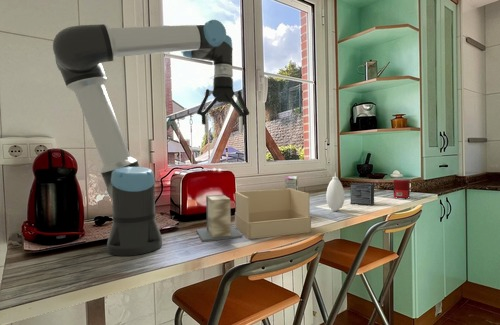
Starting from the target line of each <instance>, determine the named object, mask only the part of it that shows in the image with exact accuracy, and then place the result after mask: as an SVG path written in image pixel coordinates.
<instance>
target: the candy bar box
mask: <svg viewBox="0 0 500 325" xmlns="http://www.w3.org/2000/svg"><path fill="white" fill-rule="evenodd" d="M285 189H294V190H298V191H299V176H298V175H289V176H286V178H285Z"/></svg>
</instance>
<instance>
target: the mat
mask: <svg viewBox="0 0 500 325" xmlns="http://www.w3.org/2000/svg"><path fill="white" fill-rule="evenodd" d="M196 233H197V235H198V236H199V238H200V240H201V242H202V243H203V242H204V243H205V242H211V241H219V240H220V241H222V240H231V239H238V238H239V239H240V238H243V234H242V233H241V232H240V231H239V230H238V229H237V228H236V227H234V226H233V225H231V236H223V237H213V238H212V236H211V235H210V233H209V232H208V231H207V227H205V228H196Z"/></svg>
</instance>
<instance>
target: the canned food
mask: <svg viewBox="0 0 500 325" xmlns="http://www.w3.org/2000/svg"><path fill="white" fill-rule="evenodd" d="M410 184H411V182H410V178H409V177H394V178H393V198H394V197H397V198H408V197H409V198H410V193H411V191H410ZM397 198H396V199H397Z"/></svg>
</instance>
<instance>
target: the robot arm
mask: <svg viewBox="0 0 500 325" xmlns="http://www.w3.org/2000/svg"><path fill="white" fill-rule="evenodd" d="M232 40H233V39H232V37H231V36H230V35H228V34H227V31H226V26H224V23H222V22H221V21H219V20H217V19H210V20H208V21H206V22H205V23H204V24H203V23H201V24H190V25H189V24H185V25H183V24H181V25H163V26H162V25H160V26H159V25H158V26H157V25H156V26H134V27H133V26H132V27H129V26H128V27H110V26H108V25H107V24H104V23H103V24H102V23H101V24H80V25H73V26H68V27H65V28H63V29H62V30H59V32H58V33H57V34H56V35H55V37H54V39H53V42H52V51H53V54H54V57H55V58H54V59H55V64H56V66H57V69H58V71H60V74H61V77H62V78H63V81H64V83H65V85H66V88H67V89H69V90H70V91H72V92H74V94H75V97H76V99H77V100H78V101H77V102H78V105H79V107H80V109H81V112H82V115H83V116H84V120H85V122H86V124H87V127H88V129H89V132H90V134H91V137H92V140H93V142H94V144H95V147H96V149H97V151H98V155H99V158H100V160H101V162H102V165H103V166H102V168H101V170H100V174H101V176H102V178H103V181H104V183H105V186H106V191H107V194H108V196H109V197H110V198H111V202H112V204H111V205H112V206H111V207H112V226H111V228H110V232H109V235H108V238H107V242H106V251H107V253H108V254H110V255H113V256H119V257H130V256H138V255H145V254H148V253H151V252H154V251H156V250H159V249H160V248H161V247H162V245H163V237H162V234H161V231H160V229H159V226H158V224H157V223H158V222H157V219H156V198H155V197H156V193H155V192H156V190H155V183H156V182H155V181H156V179H155V173H154V172H153V170H152V169H151V168H149V167H142V166H140V164H139V162H138V160H137V159H136V158H135V157H132V156H131V154H130V152H129V149H128V146H127V143H126V141H125V138H124V136H123V135H124V134H123V132H122V129H121V126H120V125H119V121H118V120H117V116H116V114H115V112H114V107H113V106H112V102H111V100H110V98H109V95H108V92H107V90H106V86H105V84H106V82H107V80H108V78H107V76H106V75H107V74H106V73H105V71H104V67H103V65H102V64H104V63H107V62H114V61H115V60H116V58H118V57H119V58H121V57H132V56H143V55H154V54H164V53H165V54H166V53H175V52H176V53H177V52H180V53H181V55H182V57H184V58H187V59H192V60H193V59H194V60H201V61H202V60H203V61H208V62H212V77H213V79H212V81H213V82H212V86H213V87H212V89H213V90H210V89H209V88H207V89H205V91H204V97H203V99H202V100H201V103H200V105H199V107H198V109H197V111H196V114H197V115H198V116H200V117H201V125H204V134H209V121H208V120H209V118H208V117H209V116H208V115H207V114H208V113H209V111H210V110H211V109H212V108H213V107H214V105H215V104H216V103H217V102H218V103H220V104H221V103H224V104H228V103H229V104H230V106H232V108H233V109H234V110H235V111H236V112H237V114H238V115H239V116H238V134H240V135H241V134H243V132H244V131H243V126H245V124H246V122H245V121H246V117H247V116H249V115H250V111H249V108H248V107H247V105H246V102H245V101H244V98H243V96H242V91H241V90H238V91H234V80H233V41H232ZM211 95H212V96H213V100H211V101H210V103H209V104H208V105H207V107H205V105H206V103H207V101H208V98H209V97H210V96H211ZM234 96H235V97H236V99H237V102H238V103H239V105H240V106H239V105H238V103H237V102H236V101H235V99H234V98H233V97H234ZM204 108H205V109H204Z"/></svg>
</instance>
